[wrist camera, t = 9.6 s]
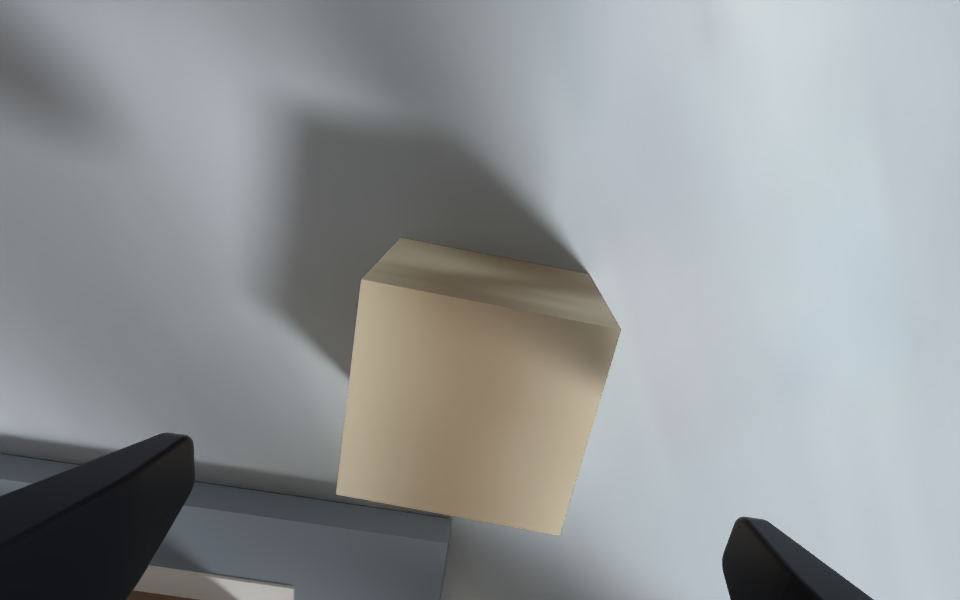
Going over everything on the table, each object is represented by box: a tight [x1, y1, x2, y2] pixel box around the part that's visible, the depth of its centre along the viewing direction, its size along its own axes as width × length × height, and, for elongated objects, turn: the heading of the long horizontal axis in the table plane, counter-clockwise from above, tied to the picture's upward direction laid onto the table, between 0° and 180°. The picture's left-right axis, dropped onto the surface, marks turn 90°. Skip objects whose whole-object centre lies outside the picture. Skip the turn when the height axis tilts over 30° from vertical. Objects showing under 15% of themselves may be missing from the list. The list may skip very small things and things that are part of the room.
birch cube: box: [336, 237, 621, 536], centre depth 12 cm, size 5×5×4 cm
